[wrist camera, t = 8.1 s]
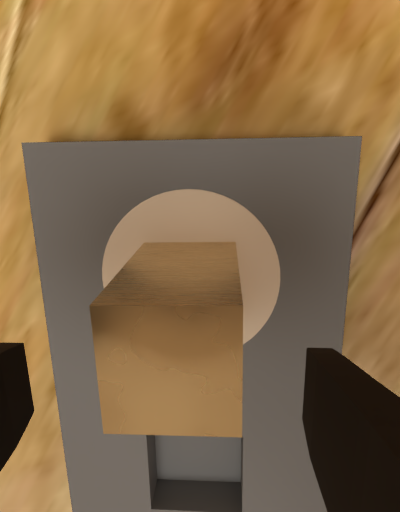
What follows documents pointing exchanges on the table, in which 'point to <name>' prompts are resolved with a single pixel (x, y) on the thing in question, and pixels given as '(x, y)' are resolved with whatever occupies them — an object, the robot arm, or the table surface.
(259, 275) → the board
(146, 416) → the brass post
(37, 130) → the table surface
